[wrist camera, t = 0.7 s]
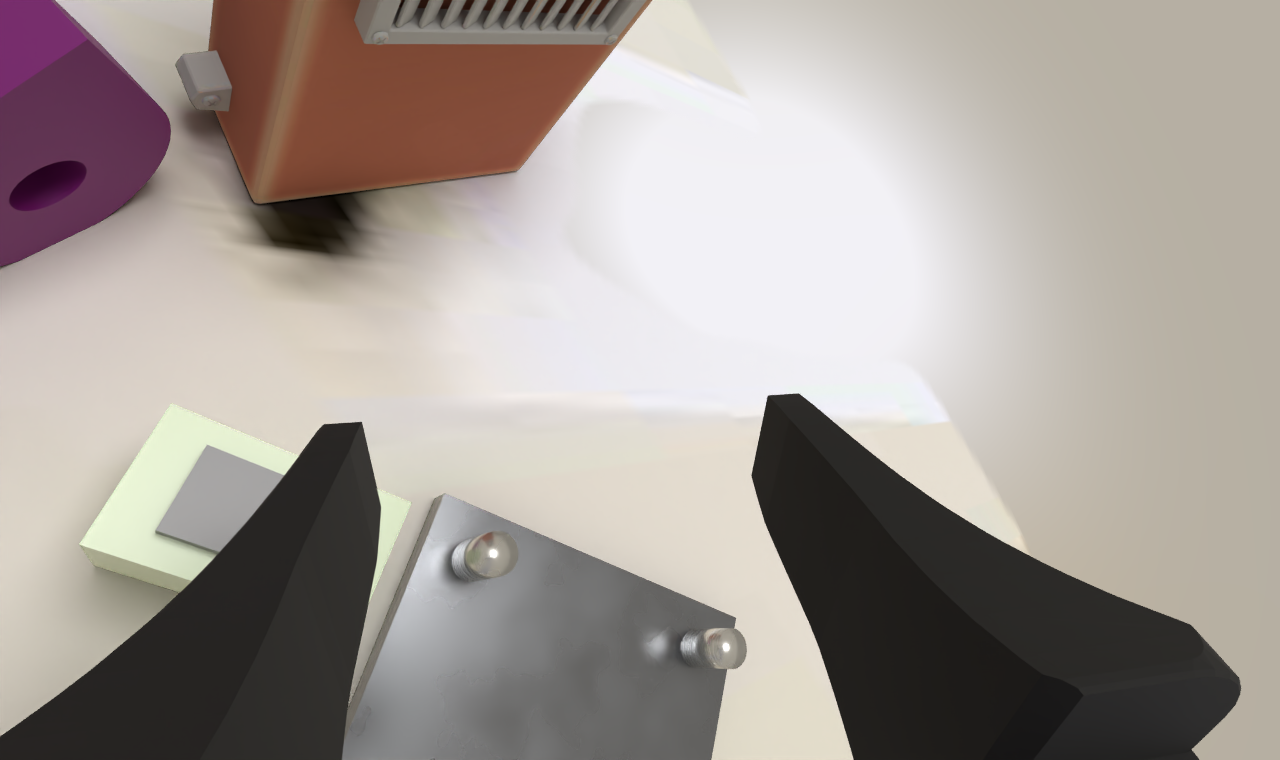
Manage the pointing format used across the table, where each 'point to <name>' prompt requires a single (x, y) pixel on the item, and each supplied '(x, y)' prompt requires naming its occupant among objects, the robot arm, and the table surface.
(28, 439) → the table surface
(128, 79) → the mounting bracket
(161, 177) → the table surface
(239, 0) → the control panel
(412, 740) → the chassis
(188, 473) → the block
